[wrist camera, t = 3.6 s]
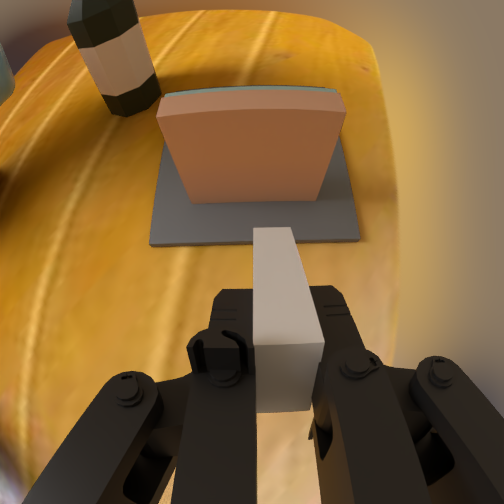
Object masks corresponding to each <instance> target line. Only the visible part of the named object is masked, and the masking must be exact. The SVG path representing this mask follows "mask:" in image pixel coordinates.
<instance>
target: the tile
mask: <svg viewBox="0 0 504 504" xmlns="http://www.w3.org/2000/svg"><path fill="white" fill-rule="evenodd" d="M345 115H346V109H345V106H344V103H343V100H342V98H341V95H340V93H337V91H336V89H327V88H314V87H293V86H246V87H225V88H211V89H200V90H191V91H182V92H175V93H167V94H165V96H164V97H163V98H161V101H160V105H159V108H158V112H157V115H156V119H157V121H158V124H159V126H160V129H161V131H162V134H163V136H164V139H165V141H166V144H167V146H168V149H169V151H170V154H171V156H172V158H173V161H174V163H175V166H176V168H177V170H178V173H179V175H180V178H181V180H182V182H183V185H184V187H185V189H186V192H187V194H188V196H189V199H190V201H191V203H192V204H205V203H229V202H265V201H316V199H317V196H318V193H319V191H320V188H321V185H322V182H323V180H324V177H325V174H326V171H327V168H328V165H329V163H330V160H331V157H332V154H333V151H334V148H335V145H336V142H337V139H338V136H339V134H340V131H341V128H342V125H343V122H344V118H345Z"/></svg>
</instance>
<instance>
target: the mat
mask: <svg viewBox="0 0 504 504" xmlns="http://www.w3.org/2000/svg"><path fill="white" fill-rule="evenodd" d="M251 86H287V85H251ZM228 87H246V86H228ZM293 87H311V86H293ZM213 88H225V87H213ZM314 88H325V87H314ZM202 89H211V88H202ZM192 90H200V89H192ZM184 91H191V90H184ZM176 92H182V91H176ZM265 227H291V230H292V234H293V237H294V240H295V243H322V242H358V241H359V240H360V233H359V227H358V221H357V215H356V209H355V204H354V199H353V194H352V189H351V184H350V179H349V175H348V170H347V166H346V162H345V157H344V153H343V149H342V145H341V141H340V137H339V136H338V139H337V142H336V145H335V148H334V151H333V154H332V157H331V160H330V163H329V165H328V168H327V171H326V174H325V177H324V180H323V182H322V185H321V188H320V191H319V193H318V196H317V199H316V201H265V202H229V203H205V204H192V203H191V201H190V199H189V196H188V194H187V192H186V189H185V187H184V185H183V182H182V180H181V178H180V175H179V173H178V170H177V168H176V166H175V163H174V161H173V158H172V156H171V154H170V151H169V149H168V146H167V144H166V141H165V142H164V147H163V153H162V158H161V163H160V169H159V175H158V181H157V187H156V193H155V200H154V207H153V214H152V222H151V231H150V239H149V245H150V246H151V247H166V246H199V245H236V244H253V228H265Z"/></svg>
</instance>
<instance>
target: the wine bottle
mask: <svg viewBox="0 0 504 504" xmlns="http://www.w3.org/2000/svg"><path fill="white" fill-rule="evenodd" d="M67 25H68V27H69V30H70V32H71V34H72V36H73V38H74V41H75V43H76V45H77V47H78V49H79V51H80V53H81V55H82V57H83V59H84V61H85V63H86V65H87V67H88V69H89V71H90V73H91V75H92V77H93V79H94V81H95V83H96V85H97V87H98V89H99V91H100V93H101V95H102V97H103V99H104V101H105V103H106V104H107V106H108V108H109V110H110V112H111V114H114V115H119V116H124V117H128V116H131V115H133V114H136V113H138V112H141V111H143V110H146V109H148V108H149V107H150V106H151V105H152V104H153V103H154V102H155V101H156V99H157V98H158V97H159V96H160V95H161V90H160V86H159V82H158V79H157V76H156V73H155V70H154V67H153V64H152V61H151V57H150V54H149V51H148V48H147V45H146V41H145V38H144V35H143V32H142V28H141V25H140V22H139V18H138V15H137V12H136V8H135V5H134V1H133V0H72V3H71V7H70V11H69V16H68V20H67Z"/></svg>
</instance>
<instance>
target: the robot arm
mask: <svg viewBox="0 0 504 504" xmlns="http://www.w3.org/2000/svg"><path fill="white" fill-rule="evenodd" d="M14 88H15V80H14V77H13V74H12V71H11V69H10V66H9V64H8V61H7V59H6V56H5V53H4V51H3V48H2V46H1V43H0V106H1V105H2V104H3V103H4V102H5V101H6V100H7V99H8V98H9V97H10V96H11V95H12V93H13V91H14ZM186 348H187V352H188V356H189V360H190V364H191V368H192V372H191V373H189V374H187V375H185V376H183V377H180V378H177V379H173V380H167V381H162V382H156V383H155V382H154V380H153V379H152V378H151V377H150V376H148V375H146V374H144V373H143V372H136V371H128V372H122V373H120V374H118V375H116V376H113V377H112V378H111V379H110V380H109V381H108V382H107V383H105V385H104V386H103V387H102V389H101V390H100V391H99V393H98V394H97V395H96V397H95V398H94V399H93V401H92V402H91V404H90V405H89V406H88V408H87V409H86V410H85V412H84V413H83V415H82V416H81V417H80V419H79V420H78V421H77V423H76V424H75V426H74V427H73V428H72V430H71V431H70V433H69V434H68V435H67V437H66V438H65V440H64V441H63V443H62V444H61V445H60V447H59V448H58V450H57V451H56V453H55V454H54V456H53V457H52V458H51V460H50V461H49V463H48V464H47V466H46V467H45V469H44V470H43V472H42V473H41V475H40V476H39V478H38V479H37V481H36V482H35V484H34V485H33V487H32V488H31V490H30V491H29V493H28V495H27V496H26V498H25V499H24V501H23V502H22V504H158V503H159V501H160V499H161V497H162V495H163V493H164V490H165V488H166V486H167V484H168V482H169V480H170V478H171V476H172V474H173V472H174V470H175V467H176V471H175V478H174V484H173V491H172V497H171V504H257V423H256V413H274V412H294V411H307V410H310V407H311V403H312V404H313V410H314V418H313V421H312V424H311V428H310V431H309V437H308V440H310V439H312V438H313V439H314V447H315V454H316V462H317V470H318V478H319V486H320V495H321V504H504V418H503V417H502V416H501V415H500V414H499V412H498V411H497V410H496V409H495V407H494V406H493V405H492V404H491V403H490V402H489V400H488V399H487V398H486V397H485V396H484V394H483V393H482V392H481V391H480V390H479V389H478V388H477V386H476V385H475V384H474V383H473V382H472V381H471V380H470V379H469V377H468V376H467V375H466V374H465V373H464V372H463V371H462V370H461V368H459V366H458V365H456V364H455V363H454V362H453V361H452V360H450V359H447V358H444V357H441V356H431V357H427V358H425V359H424V360H422V361H421V362H420V363H419V365H418V367H417V369H416V370H414V369H404V368H394V367H390V366H386V365H383V363H382V361H381V360H380V359H379V357H378V356H377V355H375V354H374V353H372V352H371V351H369V350H366V349H365V346H364V344H363V342H362V339H361V337H360V334H359V332H358V329H357V327H356V325H355V322H354V320H353V318H352V315H351V313H350V311H349V308H348V307H347V304H346V302H345V299H344V297H343V295H342V293H340V292H339V291H338V290H337V289H336V288H335V287H333V286H332V285H328V286H309V285H308V282H307V279H306V275H305V272H304V269H303V265H302V262H301V259H300V256H299V252H298V249H297V246H296V243H295V240H294V237H293V234H292V230H291V227H265V228H253V289H222V290H221V291H220V292H219V293H218V295H217V296H216V297H215V298H214V301H213V306H212V312H211V316H210V322H209V327H208V329H205V330H202V331H200V332H198V333H197V334H196V335H195V336H193V337H192V338H191V339H190V341H189V343H188V345H187V347H186Z"/></svg>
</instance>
